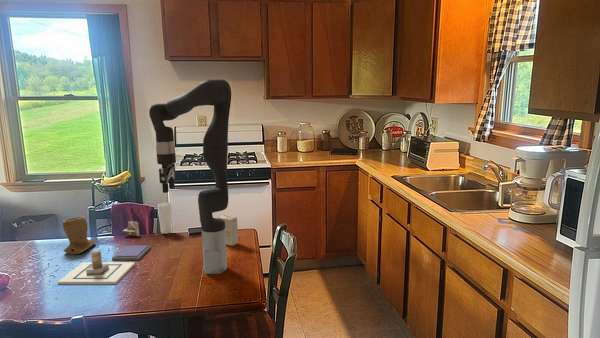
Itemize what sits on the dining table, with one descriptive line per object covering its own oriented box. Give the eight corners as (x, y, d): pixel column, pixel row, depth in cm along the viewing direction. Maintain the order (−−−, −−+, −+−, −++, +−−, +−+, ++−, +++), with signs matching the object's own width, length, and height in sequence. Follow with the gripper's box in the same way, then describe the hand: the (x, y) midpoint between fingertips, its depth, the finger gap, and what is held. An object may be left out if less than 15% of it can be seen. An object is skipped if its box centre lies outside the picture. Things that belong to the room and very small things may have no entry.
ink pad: (138, 260, 179) (138, 256, 179) (112, 260, 180) (111, 256, 179) (150, 248, 193) (150, 244, 193) (126, 248, 193) (125, 244, 193)
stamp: (101, 274, 163) (99, 255, 162) (86, 274, 163) (84, 255, 162) (109, 268, 169) (107, 249, 168) (94, 268, 169) (92, 249, 168)
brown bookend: (74, 243, 200) (70, 213, 197) (99, 243, 200) (96, 213, 197) (56, 256, 185) (52, 223, 182) (83, 255, 185) (79, 223, 182)
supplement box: (238, 243, 198) (237, 217, 195) (232, 246, 194) (230, 219, 191) (225, 240, 202) (224, 214, 200) (218, 243, 198) (217, 217, 196)
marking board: (115, 284, 157) (115, 281, 157) (57, 284, 158) (57, 281, 157) (135, 264, 175) (134, 261, 175) (83, 264, 175) (82, 261, 175)
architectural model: (135, 238, 207) (134, 224, 206) (123, 237, 209) (121, 223, 207) (139, 236, 211) (138, 222, 209) (127, 235, 212) (126, 221, 211)
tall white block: (159, 235, 210) (156, 206, 207) (159, 231, 217) (157, 202, 214) (173, 233, 212) (171, 205, 209) (173, 229, 218) (171, 201, 216)
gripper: (169, 154, 167) (172, 193, 170) (179, 149, 181) (182, 186, 184) (151, 154, 167) (154, 194, 169) (162, 150, 181) (165, 187, 184)
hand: (168, 190), depth 177 cm, fingers open, 8 cm apart
